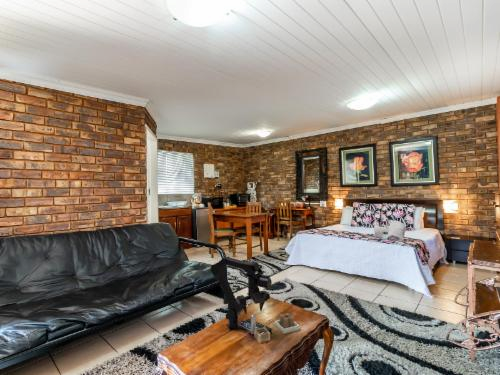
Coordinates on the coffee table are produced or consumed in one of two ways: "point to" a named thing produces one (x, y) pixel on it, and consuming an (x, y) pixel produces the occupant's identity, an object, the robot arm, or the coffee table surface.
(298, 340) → the coffee table surface
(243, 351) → the coffee table surface
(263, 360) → the coffee table surface
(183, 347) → the coffee table surface
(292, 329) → the tray
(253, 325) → the cylinder
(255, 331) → the beige square frame
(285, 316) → the walnut block
